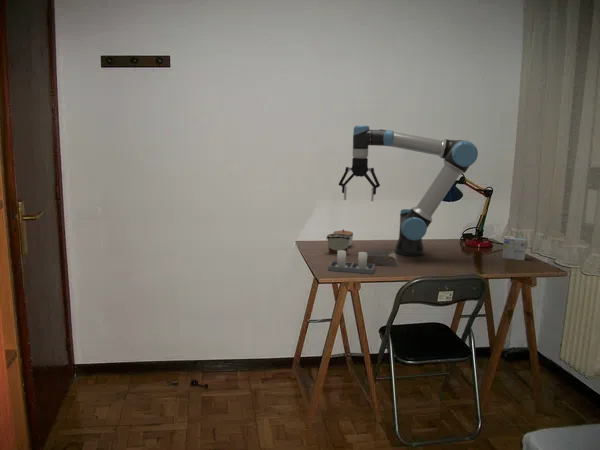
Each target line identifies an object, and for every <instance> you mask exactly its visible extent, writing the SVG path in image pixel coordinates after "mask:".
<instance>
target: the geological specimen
mask: <svg viewBox="0 0 600 450" xmlns="http://www.w3.org/2000/svg"><path fill="white" fill-rule="evenodd" d="M367 264H375V267H377V266H379V267H386V266H387V267H398V266H399V263H398V258H397V253H396V252H395V251H393V250H381V249H380V250H378V249H377V250H374V249H373V250H367Z"/></svg>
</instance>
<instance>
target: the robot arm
mask: <svg viewBox="0 0 600 450" xmlns="http://www.w3.org/2000/svg"><path fill="white" fill-rule="evenodd" d="M352 136H353V137H352V162H351V163H352V165H351V167H349V166H346V167H345V171H344V172H343V175H342V177H340V178H341V179H340V180H339V182H338V186H341V193H342V194H343V200H344V201H346V200H347V184H348V183H349V182H350V181H351V180H352V179H353V178H354V177H357V178H359V177H360V178H362V177H365V179H366V180H367V181H368V182H369V184H370V186H371V200H370V201H371V202H374V198H375V197H374V195H376V194H377V188H379V187H380V186H381V183H380V182H379V180H378V178H377V175H376V173H375V169H374V167H368V166H369V163H368V162H369V159H368V157H369V146H377V147H378V146H379V147H380V146H381V147H382V146H383V147H391V148H397V149H403V150H406V151H407V150H408V151H414V152H417V153H422V154H423V153H424V154H429V155H434V156H439V158H440V159H443V167H442V168H441V170H440V171H439V172H438V174H437V175H436V177H435V179H434V180H433V182H431V185H430V186H429V187H428V189H427V191H425V193H424V195H423V197H422V198H421V199H420V201H419V202H418V203H417V205H416V206H414V207H412V208H411V209H410V208H409V209H408V208H407V209H406V208H402V209H401V210H400V212H399V218H400V219H399V234H398V235H399V236H398V239H397V242H396V245H395V248H394V253H395V254H398V255H401V256H402V255H403V256H409V257H410V256H411V257H412V256H422V255H424V254H425V246H424V243H423V237H425V235H426V233H427V230H428V228H429V226H430V224H431V223H432V222H433V217H432V216H433V215H434V213H435V212H436V210H437V209H438V207H439V206H440V205H441V202H442V201H443V200H444V199H445V197H446V196H447V195H448V192H449V191H450V190H451V188H452V187H453V185H454V184H455V182H456V180H458V178H459V177H460V175H463V174H465V173H466V172H467V170H468V169H469V167H471V166H472V165H473V164H475V162H476V161H477V159H478V156H479V151H478V148H477V146H476V144H474V143H473V142H471V141H469V140H466V139H465V140H462V139H457V140H456V139H455V140H453V139H446V138H445V139H443V140H441V139H434V138H429V137H424V136H419V135H413V134H407V133H402V132H396V131H394V130H391V129H370V126H369V125H355V126H354V127H353V133H352ZM350 171H351V175H350V176H349V177H348V178H347V179H346V177H347V175H348V173H349V172H350ZM367 172H369V173H371V176H372V178H373V180H372V178H370V176H369V175H368V173H367ZM345 179H346V180H345ZM344 180H345V181H344Z"/></svg>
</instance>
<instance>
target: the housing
mask: <svg viewBox="0 0 600 450" xmlns="http://www.w3.org/2000/svg"><path fill="white" fill-rule="evenodd" d="M336 256H337V257H336V258H337V259H336V260H332V261H330V263H329V264H328V266H327V267H328V268H327V271H328V272H330V271H331V272H341V273H342V272H343V273H353V274H354V273H355V274H365V275H367V274H368V275H373V274H374V272H375V270H376V266H375V264H369V263H367V267H368V269H362V268H356V267H357V266H358V262H352V261H347V255H346V251H344V250H339V251H337V255H336Z"/></svg>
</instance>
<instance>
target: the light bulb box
mask: <svg viewBox="0 0 600 450" xmlns="http://www.w3.org/2000/svg"><path fill="white" fill-rule="evenodd" d="M502 243H503V244H502V247H503V248H502V256H501V258H502V259H508V260H516V261H517V260H518V261H525V258H526V251H527V237H521V236H512V235H511V236H510V235H504V237H503V242H502Z"/></svg>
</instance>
